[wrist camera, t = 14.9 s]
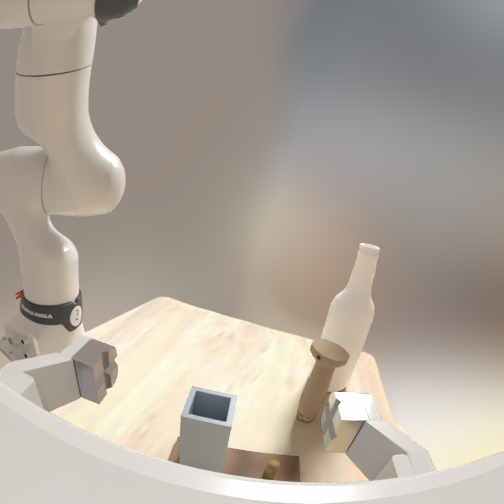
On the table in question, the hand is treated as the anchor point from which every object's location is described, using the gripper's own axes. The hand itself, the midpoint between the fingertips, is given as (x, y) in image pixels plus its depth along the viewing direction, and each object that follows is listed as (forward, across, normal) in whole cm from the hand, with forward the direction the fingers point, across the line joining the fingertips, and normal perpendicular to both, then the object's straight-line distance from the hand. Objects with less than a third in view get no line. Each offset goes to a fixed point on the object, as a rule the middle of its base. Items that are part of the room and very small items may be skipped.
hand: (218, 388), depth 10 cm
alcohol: (+42, -20, +30) cm, 56 cm away
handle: (+30, -14, +30) cm, 45 cm away
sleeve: (+15, +2, +29) cm, 33 cm away
